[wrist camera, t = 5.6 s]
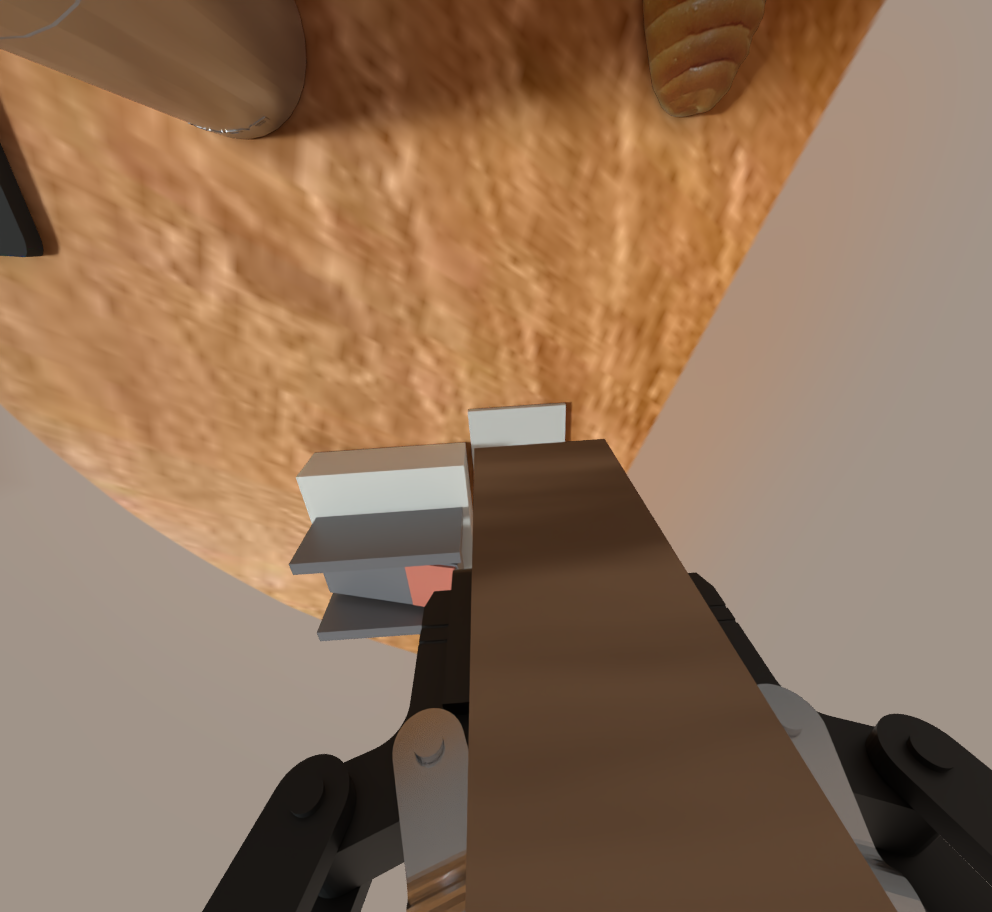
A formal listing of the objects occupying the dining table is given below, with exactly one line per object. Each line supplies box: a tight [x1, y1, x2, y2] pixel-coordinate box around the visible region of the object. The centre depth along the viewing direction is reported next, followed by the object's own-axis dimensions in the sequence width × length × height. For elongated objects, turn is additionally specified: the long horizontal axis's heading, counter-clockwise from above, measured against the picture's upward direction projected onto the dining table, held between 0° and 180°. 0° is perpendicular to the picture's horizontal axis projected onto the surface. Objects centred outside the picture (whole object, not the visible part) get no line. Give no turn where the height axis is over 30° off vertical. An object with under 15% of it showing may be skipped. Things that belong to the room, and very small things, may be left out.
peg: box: [465, 439, 897, 912], centre depth 10 cm, size 4×4×12 cm
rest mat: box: [468, 403, 566, 468], centre depth 35 cm, size 8×8×1 cm
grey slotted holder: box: [289, 442, 473, 641], centre depth 34 cm, size 16×13×9 cm
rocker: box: [323, 556, 464, 607], centre depth 33 cm, size 5×12×1 cm, turn 93°
